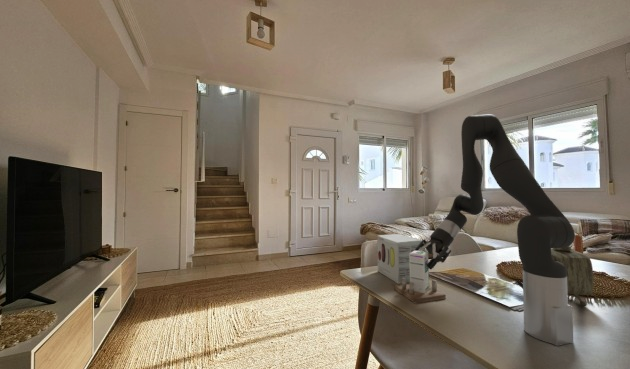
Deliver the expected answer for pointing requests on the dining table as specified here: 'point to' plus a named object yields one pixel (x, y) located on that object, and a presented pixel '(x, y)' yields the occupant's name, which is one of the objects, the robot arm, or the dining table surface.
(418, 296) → the pin tray
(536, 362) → the dining table surface
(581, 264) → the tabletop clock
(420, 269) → the syrup box
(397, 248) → the supplement box
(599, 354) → the dining table surface
